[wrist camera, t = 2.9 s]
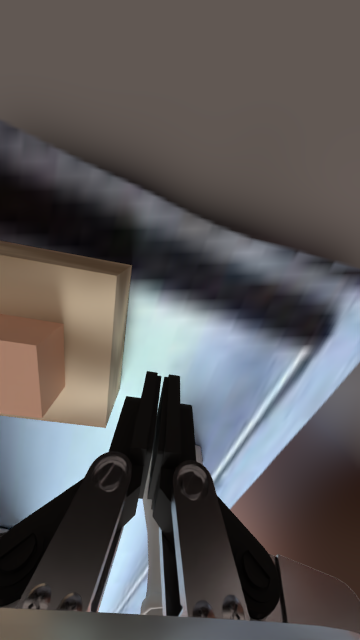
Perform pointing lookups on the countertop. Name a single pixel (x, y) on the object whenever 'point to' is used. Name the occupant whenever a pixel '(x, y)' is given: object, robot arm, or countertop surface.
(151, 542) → the flask
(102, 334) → the beech block
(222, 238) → the countertop surface
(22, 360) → the pinkish brown block
